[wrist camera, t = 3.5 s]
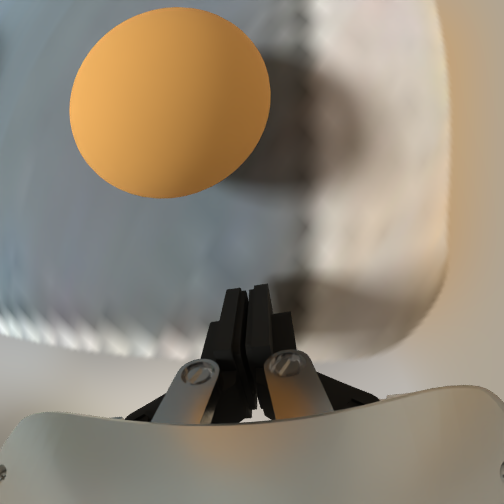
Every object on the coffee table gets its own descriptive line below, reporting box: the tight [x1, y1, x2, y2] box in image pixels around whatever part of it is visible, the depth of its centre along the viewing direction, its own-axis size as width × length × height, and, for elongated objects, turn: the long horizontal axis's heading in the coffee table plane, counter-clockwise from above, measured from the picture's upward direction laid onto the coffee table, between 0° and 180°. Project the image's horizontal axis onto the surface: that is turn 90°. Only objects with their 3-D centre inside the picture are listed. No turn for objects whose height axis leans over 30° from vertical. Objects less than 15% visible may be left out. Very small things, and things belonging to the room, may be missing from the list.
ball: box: [70, 7, 271, 198], centre depth 7 cm, size 6×6×6 cm
